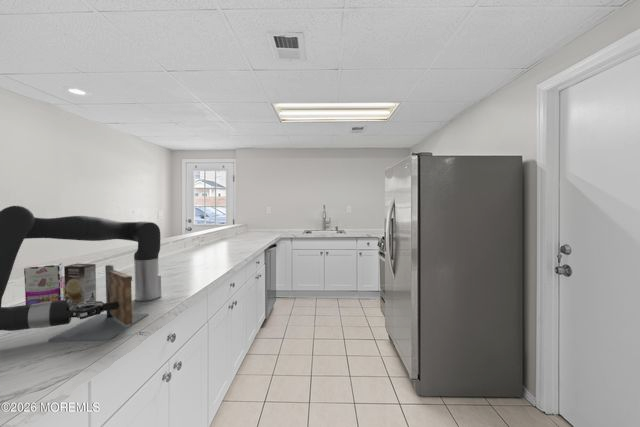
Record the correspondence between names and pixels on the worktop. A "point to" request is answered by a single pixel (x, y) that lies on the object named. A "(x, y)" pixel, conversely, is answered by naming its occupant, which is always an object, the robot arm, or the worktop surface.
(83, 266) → the coffee box
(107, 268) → the hinge post
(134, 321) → the mat
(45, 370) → the worktop surface
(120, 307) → the gate
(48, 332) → the worktop surface
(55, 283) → the candy bar box
